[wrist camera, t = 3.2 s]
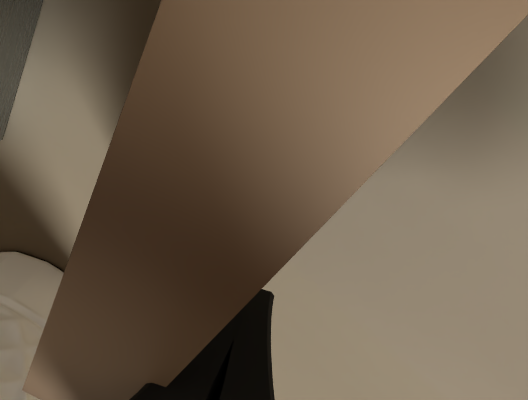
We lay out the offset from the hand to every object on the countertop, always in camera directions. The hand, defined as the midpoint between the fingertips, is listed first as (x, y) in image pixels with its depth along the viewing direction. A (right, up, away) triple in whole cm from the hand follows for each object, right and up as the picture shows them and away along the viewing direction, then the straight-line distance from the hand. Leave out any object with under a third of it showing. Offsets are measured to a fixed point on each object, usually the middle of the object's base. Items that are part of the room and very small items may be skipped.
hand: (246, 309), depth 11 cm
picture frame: (+4, +10, -4) cm, 12 cm away
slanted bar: (-3, +13, -5) cm, 14 cm away
